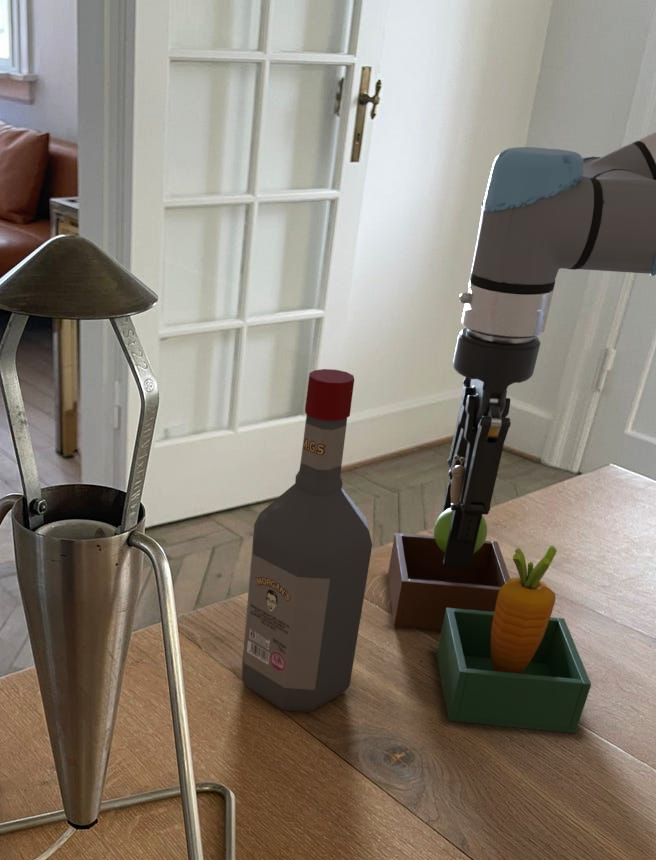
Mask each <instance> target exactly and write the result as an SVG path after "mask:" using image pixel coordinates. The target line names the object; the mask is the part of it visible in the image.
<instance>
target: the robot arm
mask: <svg viewBox="0 0 656 860" xmlns="http://www.w3.org/2000/svg"><path fill="white" fill-rule="evenodd" d="M485 190H486V191H485V195H484V198H483V201H482V202H481V214H480V219H479V225H478V226H479V227H478V232H477V239H476V243H475V248H474V253H473V261H472V266H471V271H470V276H469V282H468V291H467V292H461V293H460V294H459V299H458V301H459V303H460V304H463V305H464V307H463V312H462V317H461V324H462V325H463V327H464V328H462V329H461V331H459V332H458V335H457V338H456V339H457V340H456V345H455V350H454V355H453V361H452V367H453V370H455V371H456V373H457V374H459V375H460V376H463V377H464V379H463V380H462V384H463V386H462V393H461V399H460V404H459V408H458V414H457V418H456V424H455V428H454V433H453V437H452V442H451V447H450V452H449V456H448V459H447V466H448V468H449V471H448V479H449V480H452V470H453V468H454V465H455V466H457V465H461V462H460V460H459V459H460V458H461V457H464V458H465V461H464V462H462V465H461V466H463V467H464V474H463V478H462V484H461V490H460V497H459V502H458V504H454V503H451V482H452V481H447V487H446V490H445V495H444V496H445V497H444V500H443V505H442V510H441V514H442V513H443V512H444V511H445V510H447V509H449V508H450V509H451V510H454V513H453V517H452V522H451V527H450V532H449V536H448V541H447V546H446V551H445V555H444V560H443V564H444V566H455V567H466V568H470V567H471V562H472V558H473V553H474V549H475V545H476V540H477V536H478V531H479V527H480V523H481V518H482V516H483V515H485V516H486V515H488V514H490V511H491V504H492V499H493V496H494V495H493V494H494V491H495V485H496V481H497V477H498V473H499V468H500V464H501V463H500V462H501V458H502V454H503V450H504V445H505V441H506V438H507V435H508V432H509V429H510V427H511V425H512V423H511V419H510V417H508V416H509V413H510V407H511V397H507V394H508V387H509V386H510V385H514V384H515V383H517V384H520V383H524V382H526V381H528V380H530V379H531V378H532V377H533V374H534V371H535V368H536V363H537V359H538V355H539V351H540V347H541V341H540V340H539V337H538V336H540V335H541V334H543V333H544V332H545V328H546V324H547V320H548V316H549V311H550V307H551V303H552V299H553V294H554V291H555V286H556V279H557V276H558V273H559V270H560V269H565V270H573V271H574V270H585V271H600V272H602V271H603V272H617V273H634V274H647V275H648V274H649V276H652V277H654V276H656V130H655V131H653V132H651V133H650V134H647V135H645V136H643V137H641V138H639V139H637V140H635V141H633V142H631V143H629V144H627V145H624V146H622V147H620V148H617V149H615V150H613V151H612V152H609V153H607V154H605V155H603V156H595V155H594V156H588V157H582V155H581V154H580V153H578V152H576V151H573V150H572V151H571V150H568V149H567V150H566V149H559V148H558V149H557V148H547V147H535V146H517V147H509V148H505V149H504V150H502V151H501V152H500V153H499V154H497V156H496V157H495V159H494V160H493V163H492V167H491V171H490V174H489V178H488V182H487V187H486V189H485ZM455 455H458V456H459V459H458V460H456V463H455V460H454V456H455Z"/></svg>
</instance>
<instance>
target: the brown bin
mask: <svg viewBox="0 0 656 860" xmlns="http://www.w3.org/2000/svg"><path fill="white" fill-rule="evenodd" d="M444 555H445V552H443V551H442V550H441V549H440V548H439V546H438V545H437V543H436V541H435V538H434V535H425V534H414V533H413V534H412V533H401V532H395V533H394V536H393V542H392V548H391V554H390V558H389V559H390V560H389V565H388V570H387V580H388V589H389V597H390V606H391V613H392V622H393V626H394V627H397V628H398V627H400V628H410V629H420V630H430V631H431V630H432V631H441V630H442V625H443V621H444V616H445V611H446V608H453V609H454V608H455V609H466V610H477V611H488V612H495V607H496V602H497V597H498V593H499V591H500V589H501V587H502V586H503V585H504V584H505V583H506V582H507V581H508V580H509V579H511V577H510V574H509V571H508V568H507V565H506V563H505V559H504V556H503V554H502V550H501V547H500V544H499V542H498V541H495V540H485V542H484V544H483V545H482V547H481V548H480V549H479V550H478V551H477V552H475V553H473V558H472V562H471V567H470V568H466V567H455V566H444V564H443V560H444Z"/></svg>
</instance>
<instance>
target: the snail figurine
mask: <svg viewBox="0 0 656 860" xmlns="http://www.w3.org/2000/svg"><path fill="white" fill-rule="evenodd" d="M458 459H459V456H458V455H455V456H454V460H455V463H456V460H458ZM459 460H460V462H461V465H462V462H464V461H465V458H464V457H461V458H460V459H459ZM461 465H457V466H455V465H454V468H453V470H452V479H451V481H450V482H451V503H454V504H458V502H459V497H460V490H461V484H462V478H463V474H464V467H463V466H461ZM453 513H454V510H451V509H450V508H449V509H447V510H445V511H444V512H443V513H442V512H441V513H440V515H439V516H438V518H437V519H436V521H435V523H434V527H433V536H434V538H435V541H436V543H437V545H438V546H439V548H440V549H441V550H442V551H443V552H445V551H446V546H447V541H448V536H449V532H450V527H451V522H452V517H453ZM486 521H487V520H486V519H485V517H484V516H483V515H482V518H481V523H480V527H479V531H478V536H477V540H476V545H475V549H474V553H475V552H477V551H478V550H479V549H480V548H481V547H482V545H483V544H484V542H485V541H487V537H488V526H487V522H486Z"/></svg>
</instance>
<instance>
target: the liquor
mask: <svg viewBox="0 0 656 860" xmlns="http://www.w3.org/2000/svg"><path fill="white" fill-rule="evenodd" d="M354 385H355V376H354V375H353V374H351V373H349V372H347V371H343V370H339V369H333V368H332V369H331V368H330V369H329V368H323V369H322V368H321V369H315V370H313V371H311V372H309V374H308V382H307V391H306V397H305V407H304V413H305V415H306V417H305V423H304V431H303V438H302V439H303V440H302V448H301V455H300V456H301V457H300V463H299V470H298V471H297V473H296V475H295V480H294V484H293V485H291V486H290V487H289V488H288V489H286V491H284V492H282V494H281V495H279V497H277V498H276V499H274V501H272V502H271V503H269V505H267V506H266V507H265V508H264V509H262V510H261V511H260V512H259V514H258V516H257V518H256V520H255V522H254V523H253V535H252V547H251V557H250V570H249V581H248V594H247V604H246V617H245V628H244V639H243V650H242V651H243V652H242V663H241V667H242V668H241V680H242V682H243V684H244V685H245V687H246V688H247V689H249V690H251V691H252V692H254V693H255V694H257V695H259V696H260V697H261V698H263V699H264V700H266V701H267V702H269V703H271V704H272V705H274V706H275V707H277V708H279V709H280V710H282V711H285V712H304V713H310V712H312V711H314V710H316V709H317V708H320V707H321V706H323V705H325V704H327V703H329V702H330V701H332V700H333V699H336V698H337V697H339V696H341V695H342V694H344V693H345V692H346V691H347V689H348V688H350V686H351V679H352V674H353V668H354V667H353V666H354V661H355V655H356V648H357V641H358V636H359V629H360V625H361V618H362V612H363V611H362V610H363V605H364V600H365V599H364V598H365V593H366V588H367V587H366V586H367V581H368V574H369V567H370V561H371V557H372V556H371V555H372V549H373V542H372V537H371V533H370V529H369V525H368V521H367V518H366V517H365V516H364V514H363V512H362V511H361V510H360V509H359V508H358V506H357V505H356V504H355V502H354V501H353V500H352V499H351V498H350V496H349V495H348V494H347V492H346V491H345V490H344V488H343V483H344V482H343V479H342V465H343V458H344V457H343V456H344V449H345V441H346V432H347V424H348V418H349V417H350V416H351V410H352V401H353V392H354Z"/></svg>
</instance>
